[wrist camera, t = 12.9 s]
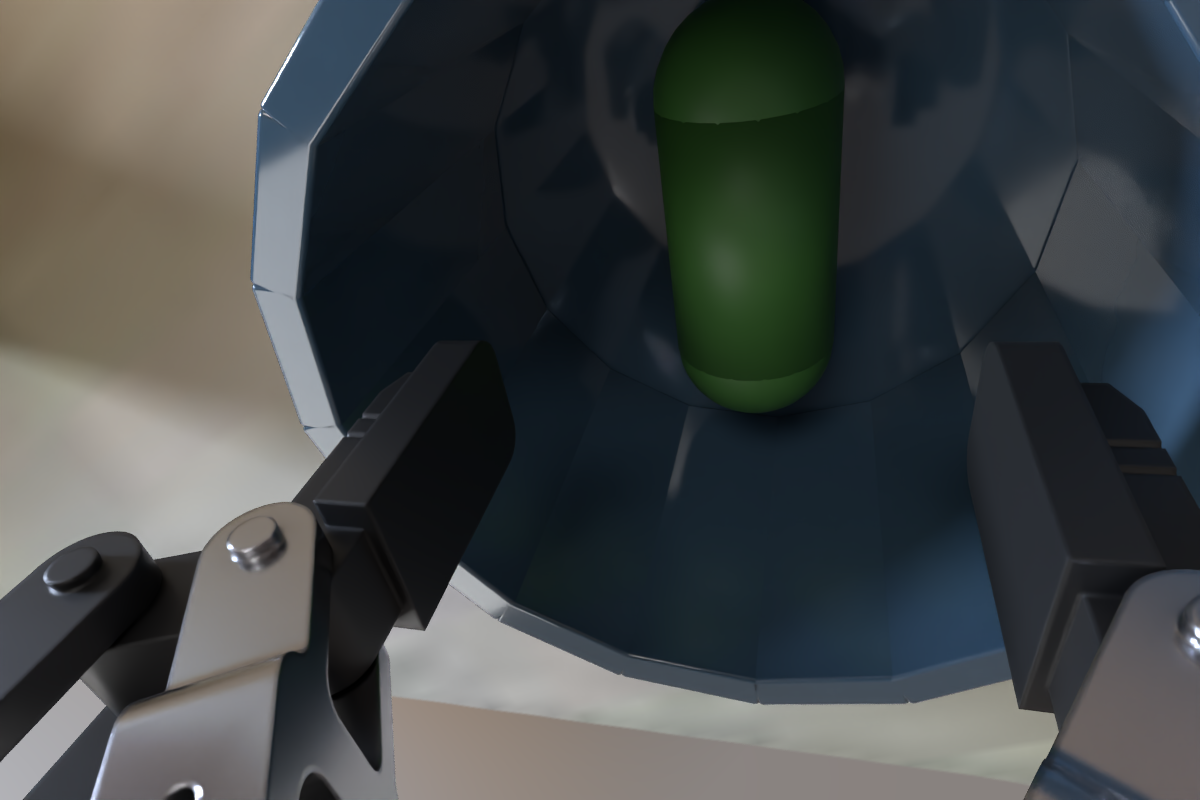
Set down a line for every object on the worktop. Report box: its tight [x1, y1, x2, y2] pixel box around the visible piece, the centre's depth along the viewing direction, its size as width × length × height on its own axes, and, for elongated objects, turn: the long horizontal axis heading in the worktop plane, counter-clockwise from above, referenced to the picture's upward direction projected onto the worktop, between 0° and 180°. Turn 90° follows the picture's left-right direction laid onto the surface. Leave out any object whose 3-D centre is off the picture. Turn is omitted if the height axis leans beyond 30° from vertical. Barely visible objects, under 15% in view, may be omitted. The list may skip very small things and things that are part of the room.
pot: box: [251, 0, 1200, 705], centre depth 13 cm, size 14×14×8 cm
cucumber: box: [653, 0, 845, 413], centre depth 15 cm, size 9×3×3 cm, turn 10°
